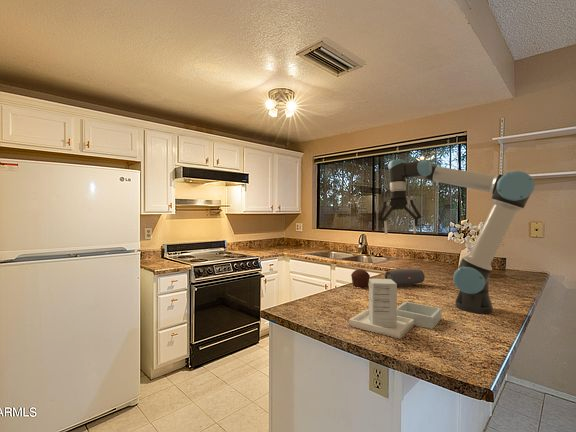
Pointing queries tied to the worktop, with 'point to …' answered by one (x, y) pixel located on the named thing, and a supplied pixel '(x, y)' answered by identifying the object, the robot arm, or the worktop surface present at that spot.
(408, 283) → the bluetooth speaker
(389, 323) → the supplement box
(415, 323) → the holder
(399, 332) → the tray
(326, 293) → the worktop surface
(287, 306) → the worktop surface
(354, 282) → the muffin
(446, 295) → the worktop surface
